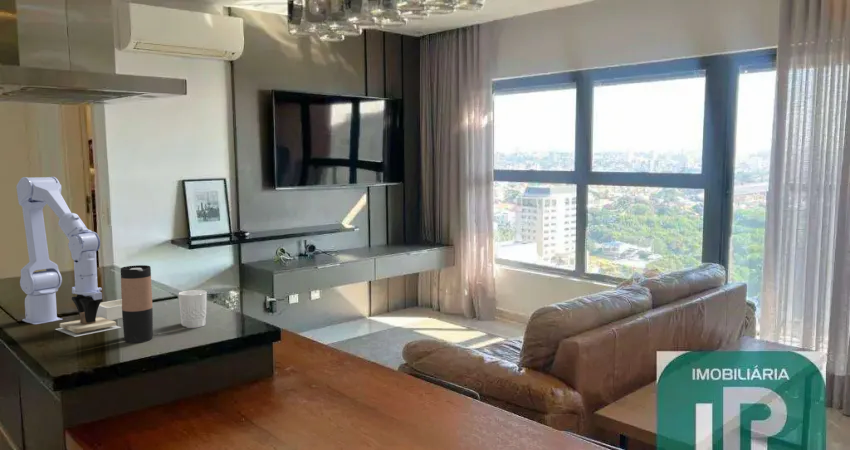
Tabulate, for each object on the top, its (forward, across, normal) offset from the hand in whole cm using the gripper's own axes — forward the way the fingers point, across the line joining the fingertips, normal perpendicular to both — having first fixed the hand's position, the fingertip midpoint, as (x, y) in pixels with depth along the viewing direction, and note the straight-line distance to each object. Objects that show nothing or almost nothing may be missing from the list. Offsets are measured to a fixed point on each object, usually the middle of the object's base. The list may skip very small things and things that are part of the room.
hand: (88, 320), depth 184 cm
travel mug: (+3, -21, -4) cm, 22 cm away
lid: (+2, 0, 0) cm, 2 cm away
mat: (+3, 0, 0) cm, 3 cm away
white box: (+3, +9, -12) cm, 15 cm away
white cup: (+3, -19, -22) cm, 29 cm away
